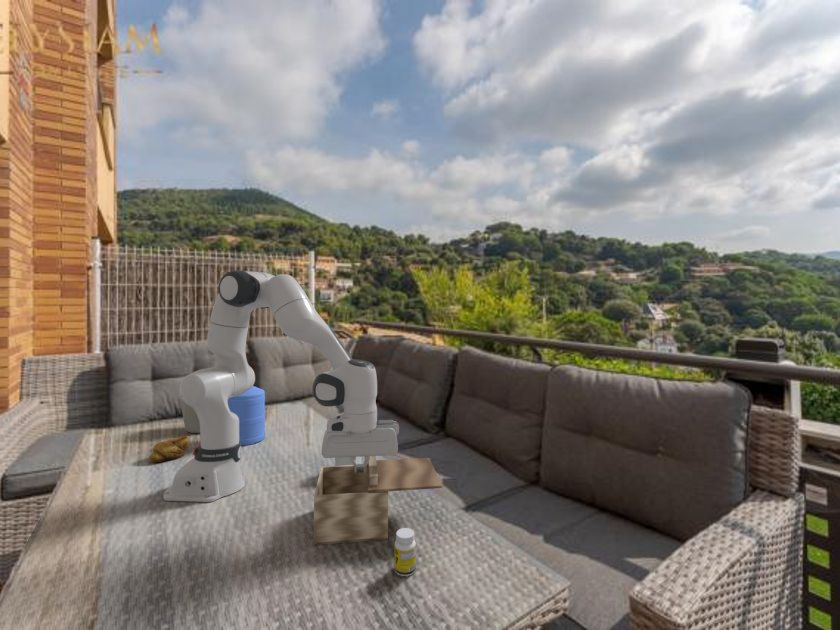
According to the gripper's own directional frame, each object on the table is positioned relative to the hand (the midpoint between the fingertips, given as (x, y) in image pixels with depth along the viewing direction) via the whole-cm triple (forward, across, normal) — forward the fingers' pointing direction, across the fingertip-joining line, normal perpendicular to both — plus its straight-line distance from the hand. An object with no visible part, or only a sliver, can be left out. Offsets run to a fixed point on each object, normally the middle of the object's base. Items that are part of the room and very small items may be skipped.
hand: (360, 471), depth 107 cm
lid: (+1, -11, 0) cm, 11 cm away
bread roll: (+14, +72, -55) cm, 92 cm away
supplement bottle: (+14, -10, +21) cm, 27 cm away
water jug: (+14, +49, -72) cm, 88 cm away
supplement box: (+14, +4, -32) cm, 35 cm away
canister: (+14, +73, -89) cm, 116 cm away
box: (+14, +2, 0) cm, 14 cm away
